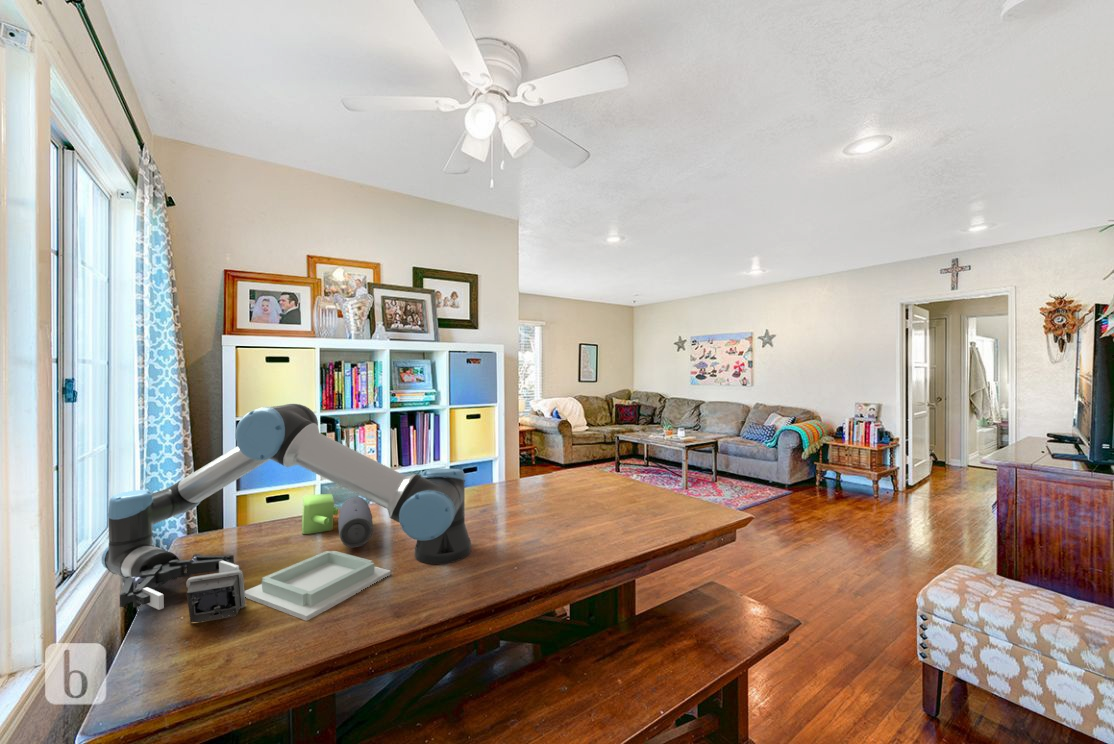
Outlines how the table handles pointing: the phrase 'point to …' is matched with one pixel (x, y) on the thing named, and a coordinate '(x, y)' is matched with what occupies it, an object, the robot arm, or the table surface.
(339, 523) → the bluetooth speaker
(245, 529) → the table surface
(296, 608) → the pocket tray
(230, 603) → the electrical switch
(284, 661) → the table surface
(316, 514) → the gearbox
